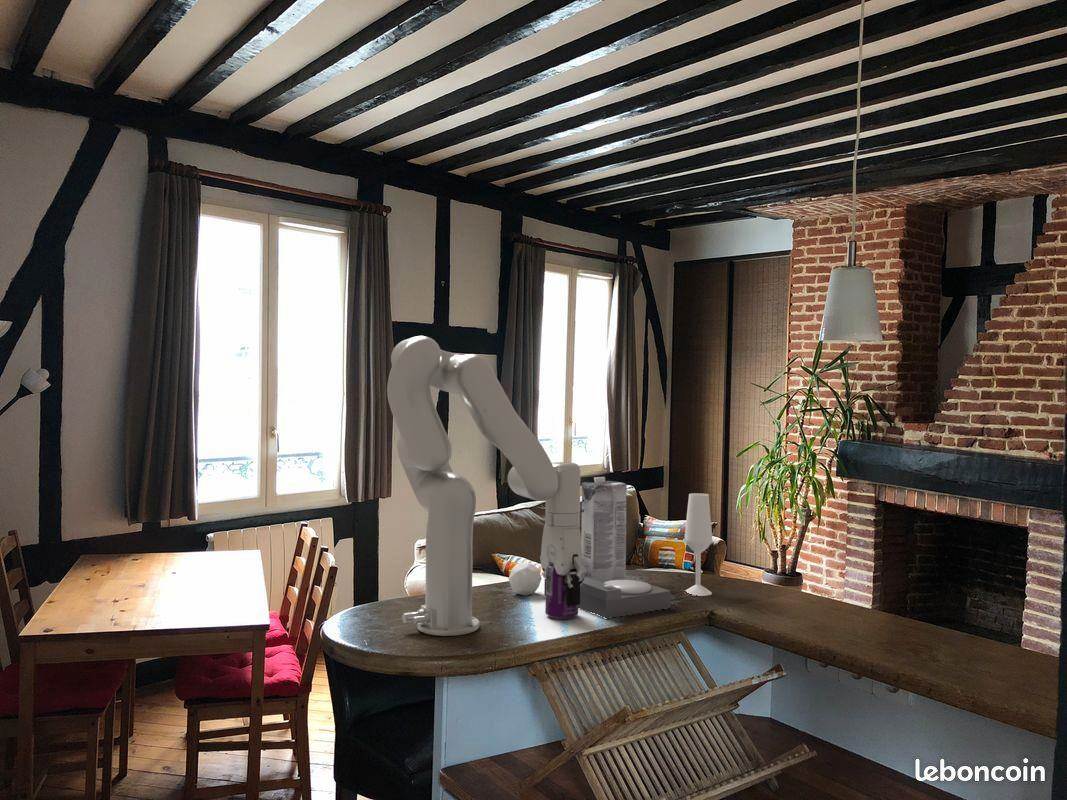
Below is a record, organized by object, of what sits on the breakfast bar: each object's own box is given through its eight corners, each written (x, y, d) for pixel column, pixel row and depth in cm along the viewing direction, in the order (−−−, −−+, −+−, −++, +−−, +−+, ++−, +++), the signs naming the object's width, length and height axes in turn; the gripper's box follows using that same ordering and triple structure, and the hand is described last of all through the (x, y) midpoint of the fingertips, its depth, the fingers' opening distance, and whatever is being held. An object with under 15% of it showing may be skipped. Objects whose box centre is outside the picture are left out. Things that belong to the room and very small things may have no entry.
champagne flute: (679, 592, 195) (680, 494, 195) (691, 587, 200) (692, 492, 200) (704, 597, 191) (705, 496, 190) (716, 591, 196) (717, 494, 196)
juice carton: (630, 583, 204) (631, 478, 204) (597, 588, 199) (598, 479, 199) (609, 576, 212) (610, 475, 212) (576, 581, 206) (577, 476, 206)
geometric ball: (528, 603, 194) (545, 575, 197) (531, 599, 186) (548, 569, 189) (502, 586, 195) (519, 558, 198) (503, 582, 187) (521, 553, 190)
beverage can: (575, 622, 168) (576, 565, 168) (542, 619, 170) (543, 563, 170) (580, 613, 175) (580, 558, 175) (548, 611, 177) (549, 557, 177)
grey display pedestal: (605, 619, 170) (606, 588, 170) (572, 605, 182) (572, 576, 182) (670, 608, 180) (670, 579, 180) (634, 596, 191) (634, 568, 191)
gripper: (527, 515, 178) (526, 594, 178) (570, 526, 163) (569, 612, 163) (555, 513, 182) (555, 590, 182) (600, 524, 167) (599, 607, 167)
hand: (561, 600), depth 172 cm, fingers open, 8 cm apart
